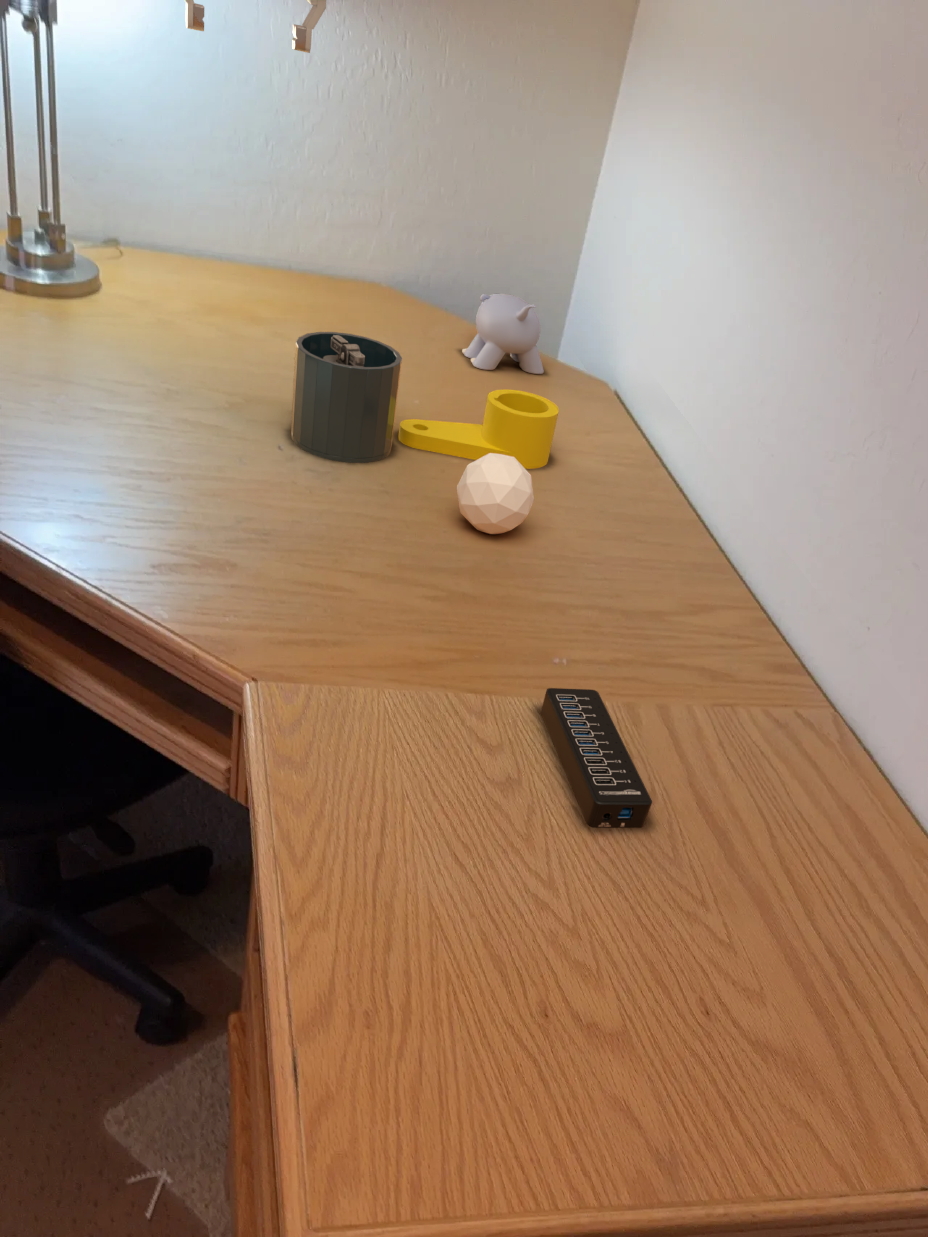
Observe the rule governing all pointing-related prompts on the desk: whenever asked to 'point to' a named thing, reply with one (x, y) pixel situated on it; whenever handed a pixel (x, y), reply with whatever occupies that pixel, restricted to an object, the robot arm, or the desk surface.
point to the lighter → (345, 352)
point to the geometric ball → (495, 493)
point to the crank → (492, 430)
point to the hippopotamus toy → (505, 333)
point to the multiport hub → (595, 759)
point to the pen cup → (344, 399)
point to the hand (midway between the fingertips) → (248, 39)
